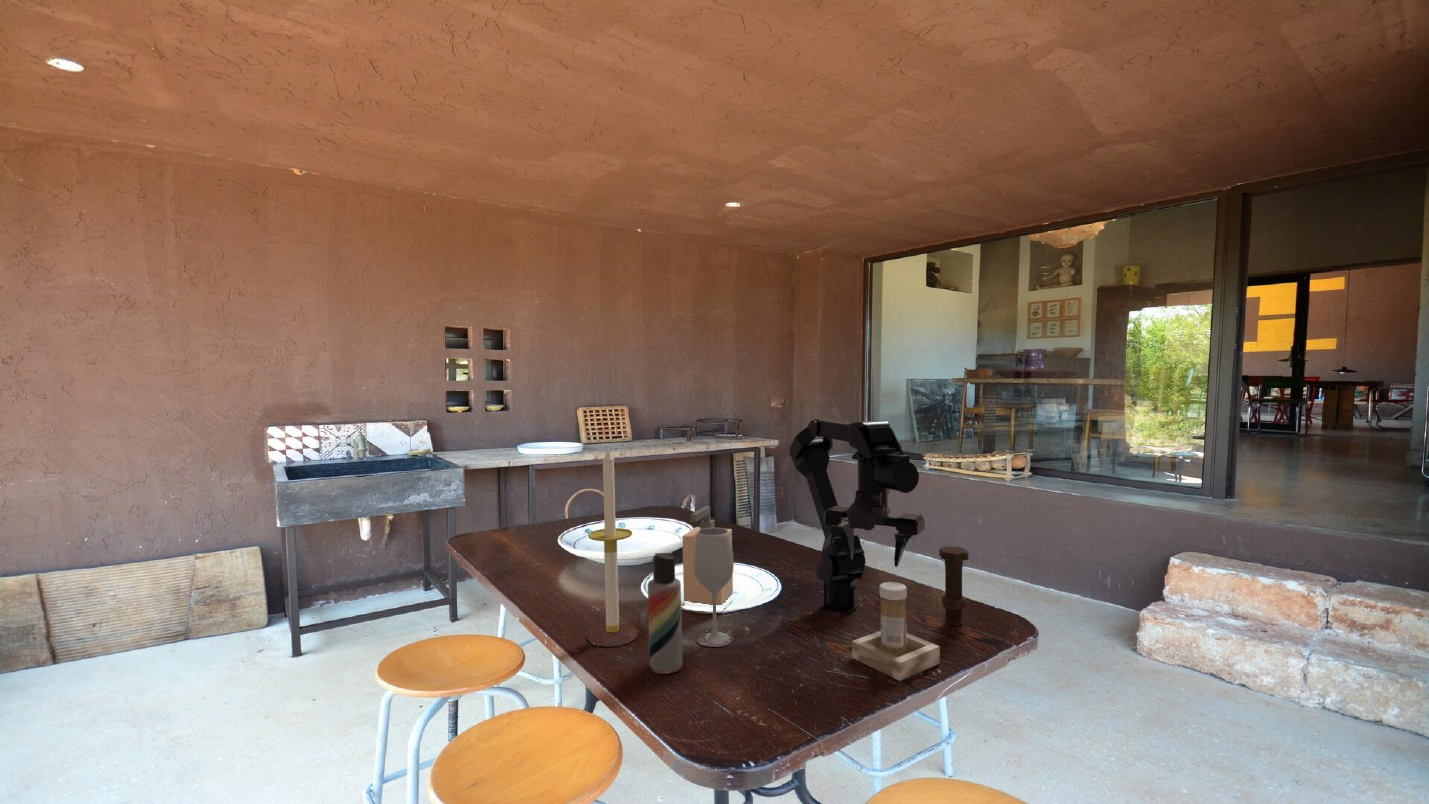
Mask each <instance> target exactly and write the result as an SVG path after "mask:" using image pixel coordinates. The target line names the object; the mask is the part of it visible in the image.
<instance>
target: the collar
mask: <svg viewBox="0 0 1429 804" xmlns="http://www.w3.org/2000/svg"><path fill="white" fill-rule="evenodd" d="M881 645H882V643H881V630H880V631H876V632H873V633H870V634H868V635H865V636H862V637H860V638H857V639H854V640H852V641H851V658H852V659H854V660H856V661H858V662H860V663H863V664H864V665H867V666H869V667H870V668H873V669H875V670H877V671H878V672H881V673H883V674H885V675H886V676H888V677H891V678H893V679H895V680H897V681H899V682H900V681H903V680H906V679H907V678H910V677H912V676H914V675H917V674H919V673H922V672H923V671H926V670H927V669H930V668H932V667H935V666H937V665H939V664H940V660H941V658H940V657H941V655H940V652H941V649H940V648H941V647H940V645H938V644H935V643H933V642H930V641H927V640H925V639H922V638H921V637H917V636H914V635H913V634H911V633H908V632H907V654H905V655H903V656H900V657H897V656H895V655H892V654H890V653H888V652H886V651H883V650H882V648H881V647H882V646H881Z"/></svg>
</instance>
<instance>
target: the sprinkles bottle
mask: <svg viewBox="0 0 1429 804" xmlns="http://www.w3.org/2000/svg"><path fill="white" fill-rule="evenodd" d="M879 597H880V631H881V643H882V645H881V646H882V647H881V648H882V650H883V651H886V652H888V653H890V654H892V655H895V656H897V657H900V656H903V655H905V654H907V633H908V629H907V628H908V627H907V605H906V602H907V601H906V600H907V597H908V594H907V586H906V585H905V584H903V583H901V582H895V581H887V582H882V583H880V584H879Z"/></svg>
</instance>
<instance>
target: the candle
mask: <svg viewBox="0 0 1429 804" xmlns="http://www.w3.org/2000/svg"><path fill="white" fill-rule="evenodd" d="M602 474H603V475H602V479H603V483H602V484H603V509H604V510H603V511H604V512H603V514H604V515H603V517H604V518H603V519H604V521H603V522H604V528H601V529H596V530H593V531H590V532H589V533H588V535H587V536H588V539H590V540H592V541H595V542H596V541H597V542H603V552H604V553H603V554H604V556H603V557H604V560H603V561H604V595H605V626H606V631H607V632H617V631H618V630H619V625H620V613H619V612H620V611H619V609H620V608H619V607H620V606H619V605H620V604H619V575H618V574H619V572H618V568H619V567H618V564H619V563H618V541H621V540H625V539H628V538H630V537H631V536H632V535H633V532H632V530H631V529H628V528H627V529H626V528H622V527H619V528H618V527H616V526H617V525H616V497H615V496H616V494H615V492H616V491H615V490H616V489H615V485H616V484H615V459H614V457H613V456H612V454H611V451H610V448H606V453H605V455H604V457H603V458H602Z"/></svg>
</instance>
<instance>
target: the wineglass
mask: <svg viewBox="0 0 1429 804" xmlns="http://www.w3.org/2000/svg"><path fill="white" fill-rule="evenodd" d="M727 529H728V528H725V527H724V528H723V527H715V528H704V529H701V530H699V531H698V532H697V537H696V544H695V552H694V572H695V575H696V577H697V579H698V581H699V582H700V583H701V584H702V585H703V586H704V587H705V588H706V589H708V590H709V591H710V592H711V594H712V601H713V613H712V630H711V633H708V634H706V636H705V638H706V640H707V641H710V642H711V643H715V644H722V643H723V642H724V641H730V640H729V638H731V637H730V636H728V635H729V634H730V633H729V634H726V633H722V632H718V631H719V630H718V626H717V625H718V623H717V622H718V621H717V620H718V619H717V618H718V617H717V614H716V597H717V593H718V591H719V590H720V589H722V588H723V587H724V586H725V585H726V584H727V583H728V581H729V580H730V579H731V576H732V574H733V573H734V566H735V565H734V563H735V562H734V553H733V544H732V545H731V540H730V535H729V531H728V530H727ZM724 643H725V642H724Z"/></svg>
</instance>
